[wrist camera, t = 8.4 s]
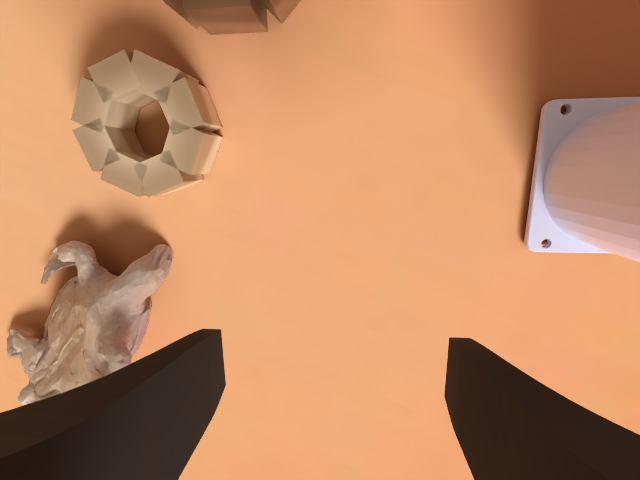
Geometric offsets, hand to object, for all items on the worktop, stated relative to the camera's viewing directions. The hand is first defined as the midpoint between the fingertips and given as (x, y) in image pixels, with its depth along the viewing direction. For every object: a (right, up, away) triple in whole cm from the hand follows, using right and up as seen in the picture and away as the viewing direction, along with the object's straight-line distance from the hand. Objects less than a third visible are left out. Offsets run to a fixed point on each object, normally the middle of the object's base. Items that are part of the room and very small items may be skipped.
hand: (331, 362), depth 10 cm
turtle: (-16, -2, +13) cm, 21 cm away
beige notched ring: (-10, +10, +9) cm, 17 cm away
